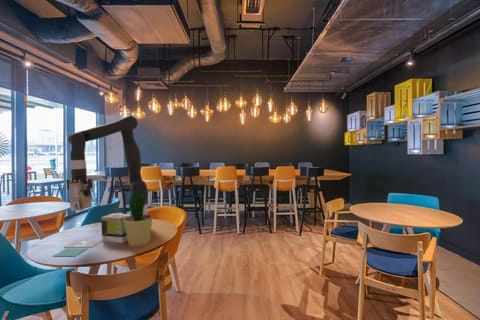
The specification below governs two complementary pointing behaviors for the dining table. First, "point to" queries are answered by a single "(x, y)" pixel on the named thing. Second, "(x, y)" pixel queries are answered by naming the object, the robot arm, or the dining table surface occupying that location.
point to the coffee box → (79, 196)
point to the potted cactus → (138, 222)
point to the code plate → (82, 244)
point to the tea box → (114, 228)
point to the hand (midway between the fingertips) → (80, 196)
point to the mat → (70, 252)
